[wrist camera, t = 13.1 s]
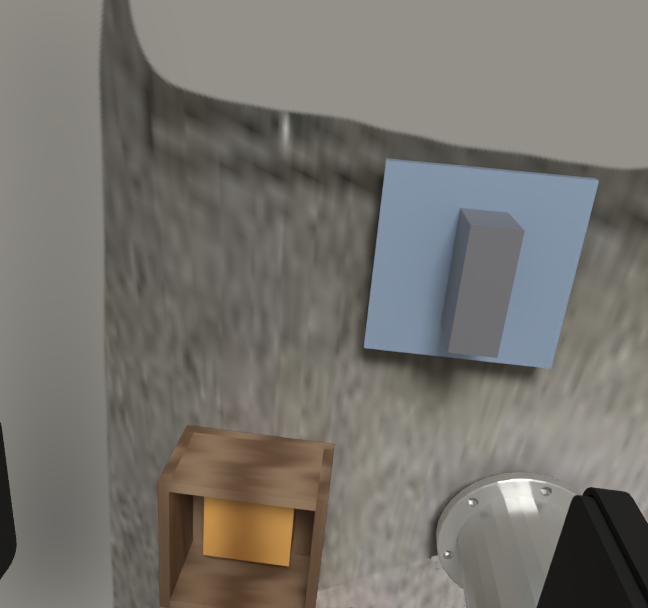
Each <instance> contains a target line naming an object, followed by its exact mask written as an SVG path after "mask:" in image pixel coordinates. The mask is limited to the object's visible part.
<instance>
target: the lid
mask: <svg viewBox="0 0 648 608" xmlns="http://www.w3.org/2000/svg"><path fill="white" fill-rule="evenodd" d="M598 183H599V180H597V179H595V178H586V177H576V176H565V175H555V174H544V173H534V172H524V171H513V170H503V169H492V168H482V167H471V166H461V165H450V164H440V163H429V162H419V161H409V160H398V159H388V158H386V163H385V171H384V180H383V188H382V197H381V205H380V213H379V222H378V230H377V239H376V247H375V255H374V264H373V272H372V281H371V289H370V297H369V306H368V314H367V322H366V331H365V339H364V348H368V349H377V350H386V351H395V352H404V353H413V354H423V355H432V356H441V357H450V358H459V359H468V360H477V361H486V362H495V363H504V364H513V365H522V366H531V367H540V368H549V369H551V367H552V363H553V359H554V355H555V351H556V347H557V343H558V339H559V335H560V332H561V328H562V324H563V320H564V316H565V312H566V308H567V304H568V300H569V296H570V292H571V288H572V285H573V281H574V277H575V273H576V269H577V265H578V261H579V257H580V253H581V249H582V245H583V241H584V237H585V234H586V230H587V226H588V222H589V218H590V214H591V210H592V206H593V202H594V198H595V194H596V190H597V186H598Z"/></svg>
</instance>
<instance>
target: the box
mask: <svg viewBox="0 0 648 608" xmlns="http://www.w3.org/2000/svg"><path fill="white" fill-rule="evenodd" d="M333 453H334V444H330V443H322V442H314V441H306V440H298V439H290V438H282V437H275V436H267V435H259V434H251V433H243V432H235V431H227V430H219V429H211V428H204V427H196V426H188V425H187V427H186V429H185V431H184V433H183V434H182V436H181V438H180V440H179V442H178V444H177V446H176V448H175V450H174V451H173V453H172V455H171V457H170V459H169V461H168V463H167V465H166V467H165V468H164V470H163V472H162V474H161V476H160V478H159V480H158V528H159V589H160V607H167V608H315V607H316V599H317V590H318V582H319V574H320V565H321V557H322V548H323V540H324V531H325V523H326V514H327V506H328V497H329V488H330V479H331V471H332V462H333Z"/></svg>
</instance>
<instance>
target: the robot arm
mask: <svg viewBox="0 0 648 608" xmlns="http://www.w3.org/2000/svg"><path fill="white" fill-rule="evenodd" d="M436 544H437V552H438V557H439V560H440V562H441V564H442V566H443V568H444V570H445V571H446V573H447V574H448V575H449V577H450V578H451V579H452V580H453V581H454V582H455V583H456V584H458V585H459V586H460V587H461V588H463V589H464V595H465V601H466V608H648V523H647V522H646V520H645V518H644V516H643V515H642V513H641V511H640V510H639V508H638V506H637V505H636V503H635V501H634V500H633V498H632V497H631V496H630V494H629V493H627V492H623V491H616V490H608V489H600V488H593V487H590V488H587V489H586V490H585V491H584V493H583V495H580V494H579V493H578V492H577V491H576V490H575V489H573V488H572V487H570V486H569V485H567V484H566V483H564V482H562V481H559V480H557V479H555V478H552V477H549V476H545V475H541V474H537V473H525V472H515V473H503V474H499V475H494V476H490V477H487V478H484V479H482V480H480V481H477V482H475V483H473V484H471V485H470V486H468V487H466V488H465V489H463V490H461V491H460V492H459V493H458V494H457V495H456V496H455V497H454V498H453V499H451V501H450V502H449V503H448V505H447V506H446V507H445V509H444V510H443V512H442V514H441V516H440V519H439V521H438V525H437V530H436ZM16 546H17V544H16V534H15V526H14V519H13V511H12V503H11V496H10V488H9V480H8V473H7V465H6V457H5V449H4V442H3V434H2V427H1V423H0V579H1V578H2V576H3V575H4V573H5V572H6V571H7V569H8V568H9V566H10V565H11V563H12V560H13V558H14V555H15V552H16Z"/></svg>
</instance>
